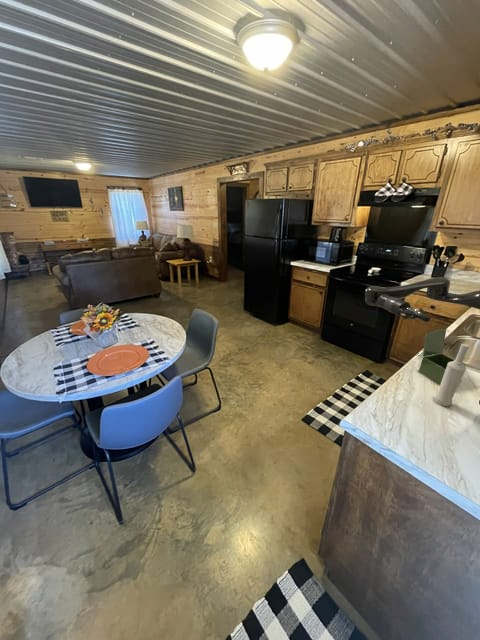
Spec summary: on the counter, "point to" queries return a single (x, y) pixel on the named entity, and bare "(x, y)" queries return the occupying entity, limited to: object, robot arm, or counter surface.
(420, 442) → the counter surface
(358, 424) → the counter surface
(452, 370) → the bottle
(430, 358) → the green hinged box
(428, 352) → the lid
